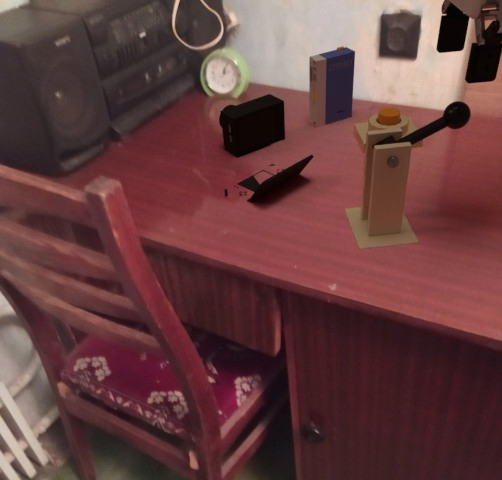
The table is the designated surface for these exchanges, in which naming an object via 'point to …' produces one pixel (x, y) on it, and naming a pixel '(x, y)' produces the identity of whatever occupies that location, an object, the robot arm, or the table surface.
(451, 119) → the switch lever
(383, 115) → the button
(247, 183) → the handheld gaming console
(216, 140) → the table surface
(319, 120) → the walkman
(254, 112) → the digital camera
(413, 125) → the button block
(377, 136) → the switch bracket
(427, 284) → the table surface
